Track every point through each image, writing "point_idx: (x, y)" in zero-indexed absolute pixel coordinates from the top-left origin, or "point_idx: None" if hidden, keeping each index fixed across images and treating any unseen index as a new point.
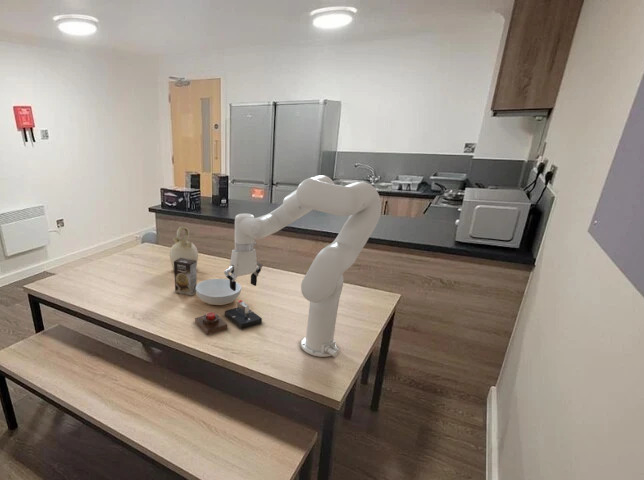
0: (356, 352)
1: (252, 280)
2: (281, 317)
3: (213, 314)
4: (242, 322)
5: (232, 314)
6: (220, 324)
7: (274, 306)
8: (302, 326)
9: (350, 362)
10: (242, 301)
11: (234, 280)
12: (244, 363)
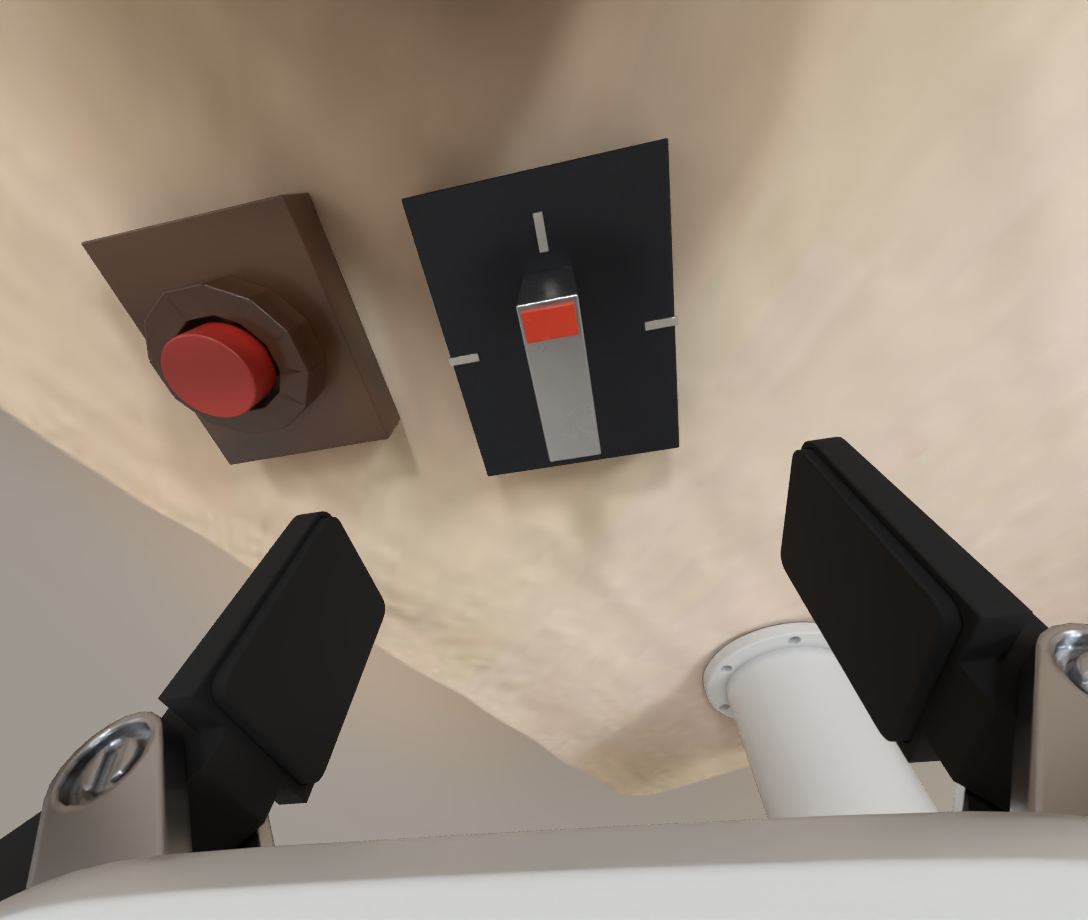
0: None
1: (835, 566)
2: (868, 387)
3: (236, 390)
4: (506, 458)
5: (464, 309)
6: (333, 424)
7: (1009, 153)
8: None
9: None
10: (577, 333)
11: (262, 831)
12: (424, 668)
